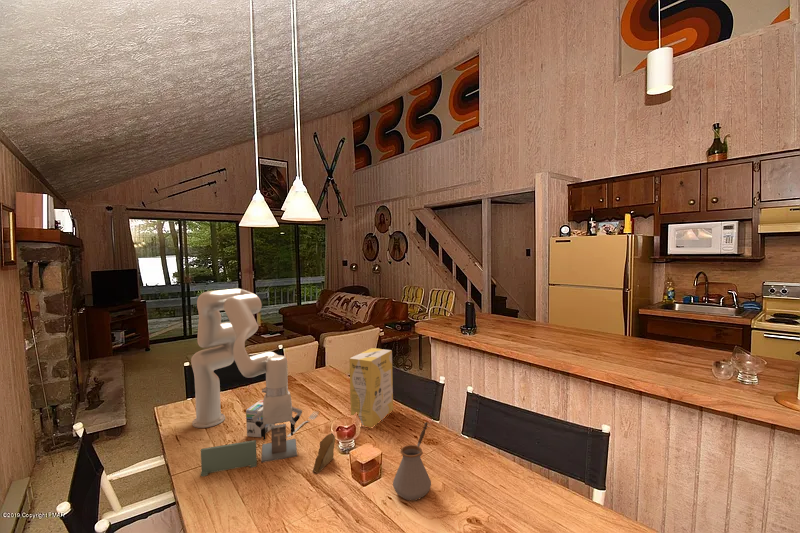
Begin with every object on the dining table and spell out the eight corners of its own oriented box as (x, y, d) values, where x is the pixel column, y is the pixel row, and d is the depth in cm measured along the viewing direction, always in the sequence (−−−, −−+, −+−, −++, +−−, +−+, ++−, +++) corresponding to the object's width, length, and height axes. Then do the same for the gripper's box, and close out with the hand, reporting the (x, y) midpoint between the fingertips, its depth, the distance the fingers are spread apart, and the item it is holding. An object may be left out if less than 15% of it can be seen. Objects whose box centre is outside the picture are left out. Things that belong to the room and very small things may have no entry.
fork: (279, 440, 146) (279, 436, 146) (313, 414, 169) (313, 410, 169) (286, 441, 145) (286, 437, 145) (319, 415, 168) (319, 411, 168)
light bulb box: (261, 438, 148) (260, 411, 147) (246, 436, 149) (245, 410, 149) (275, 425, 158) (274, 400, 158) (261, 424, 160) (260, 399, 159)
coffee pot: (424, 509, 105) (423, 456, 104) (386, 499, 109) (385, 449, 109) (444, 468, 125) (444, 423, 124) (412, 461, 129) (411, 418, 129)
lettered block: (272, 447, 139) (271, 425, 139) (286, 444, 141) (285, 423, 141) (271, 454, 134) (271, 432, 134) (286, 452, 136) (285, 430, 135)
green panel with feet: (203, 470, 126) (202, 446, 126) (257, 460, 132) (256, 438, 131) (200, 476, 123) (199, 452, 122) (256, 466, 128) (255, 443, 127)
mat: (262, 445, 142) (262, 444, 142) (295, 440, 145) (295, 438, 145) (261, 462, 130) (261, 460, 130) (297, 456, 134) (297, 454, 134)
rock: (320, 471, 120) (344, 455, 127) (308, 446, 123) (333, 431, 130) (308, 479, 127) (332, 462, 134) (297, 455, 130) (321, 440, 137)
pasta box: (373, 407, 175) (371, 348, 173) (393, 411, 170) (391, 350, 169) (351, 423, 158) (349, 358, 157) (372, 428, 154) (370, 361, 152)
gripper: (251, 397, 131) (252, 445, 131) (302, 390, 136) (303, 437, 137) (252, 389, 138) (253, 435, 139) (301, 383, 143) (301, 427, 144)
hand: (278, 436), depth 138 cm, fingers open, 9 cm apart
